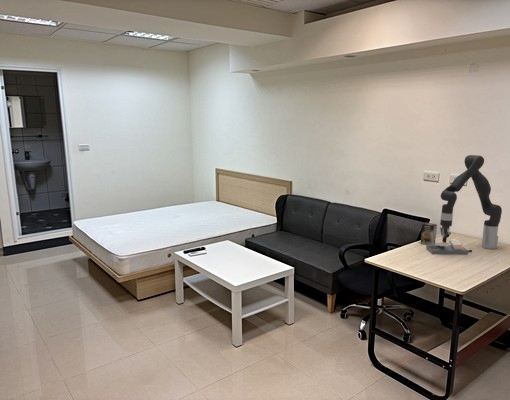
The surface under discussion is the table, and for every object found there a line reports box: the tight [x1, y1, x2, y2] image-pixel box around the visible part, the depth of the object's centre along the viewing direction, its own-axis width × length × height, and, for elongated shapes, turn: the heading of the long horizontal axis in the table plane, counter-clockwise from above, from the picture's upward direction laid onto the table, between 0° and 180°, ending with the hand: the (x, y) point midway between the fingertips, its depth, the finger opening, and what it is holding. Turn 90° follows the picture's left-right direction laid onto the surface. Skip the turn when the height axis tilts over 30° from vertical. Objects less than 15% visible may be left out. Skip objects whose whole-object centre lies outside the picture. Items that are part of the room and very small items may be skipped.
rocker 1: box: [435, 241, 450, 246], centre depth 282 cm, size 6×10×2 cm, turn 176°
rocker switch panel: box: [425, 244, 473, 256], centre depth 282 cm, size 30×12×4 cm, turn 86°
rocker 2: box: [448, 239, 464, 249], centre depth 281 cm, size 6×10×2 cm, turn 176°
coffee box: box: [420, 222, 438, 246], centre depth 299 cm, size 9×6×16 cm
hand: (444, 242), depth 277 cm, fingers closed
